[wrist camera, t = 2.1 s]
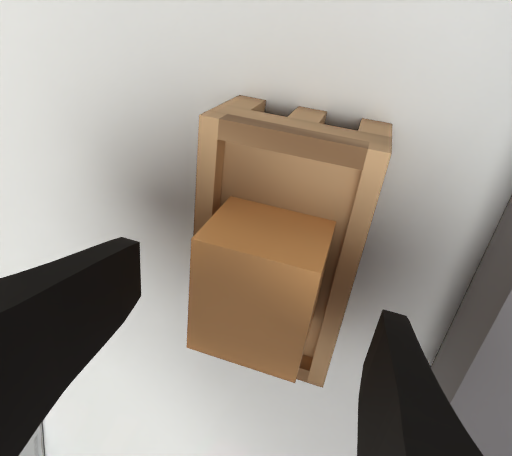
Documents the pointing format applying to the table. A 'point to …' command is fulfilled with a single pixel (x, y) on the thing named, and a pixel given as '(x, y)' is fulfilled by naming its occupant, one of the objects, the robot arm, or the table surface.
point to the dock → (483, 349)
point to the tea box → (34, 444)
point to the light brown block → (256, 285)
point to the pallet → (298, 191)
